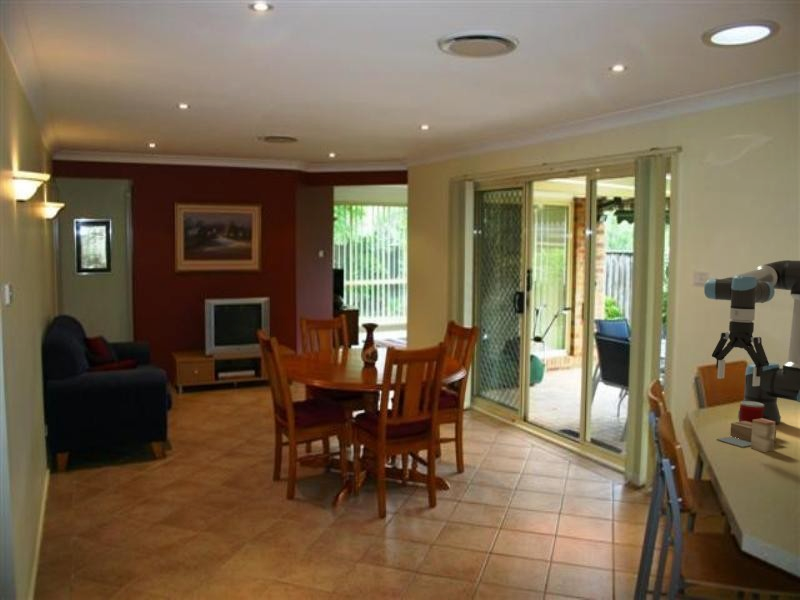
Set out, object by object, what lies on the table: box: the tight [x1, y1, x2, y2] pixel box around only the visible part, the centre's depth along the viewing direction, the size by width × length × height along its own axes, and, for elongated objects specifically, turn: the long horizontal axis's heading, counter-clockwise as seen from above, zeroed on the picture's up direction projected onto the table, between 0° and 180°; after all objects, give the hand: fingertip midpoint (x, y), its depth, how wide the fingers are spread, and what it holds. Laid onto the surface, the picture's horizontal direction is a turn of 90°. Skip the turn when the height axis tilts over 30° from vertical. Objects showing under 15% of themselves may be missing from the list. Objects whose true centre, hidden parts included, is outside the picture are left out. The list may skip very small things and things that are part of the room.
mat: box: [716, 436, 751, 448], centre depth 239 cm, size 8×10×1 cm
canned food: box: [738, 400, 764, 423], centre depth 253 cm, size 8×8×11 cm
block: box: [750, 418, 776, 453], centre depth 231 cm, size 5×5×10 cm
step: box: [729, 421, 777, 444], centre depth 243 cm, size 8×12×5 cm, turn 28°
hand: (737, 382), depth 233 cm, fingers open, 13 cm apart
